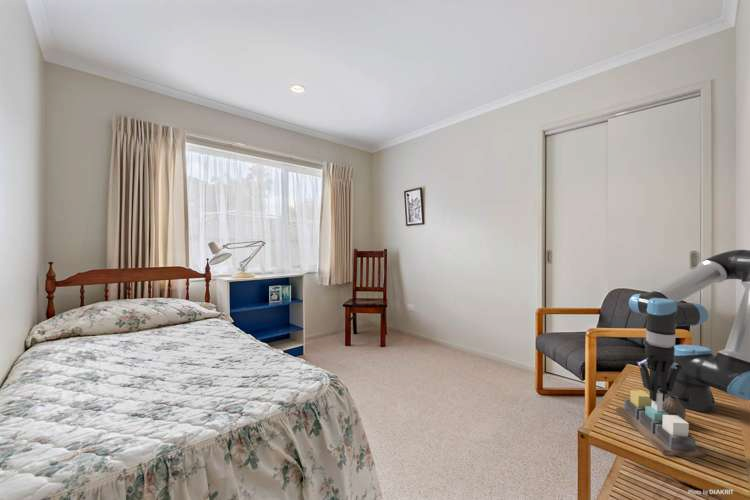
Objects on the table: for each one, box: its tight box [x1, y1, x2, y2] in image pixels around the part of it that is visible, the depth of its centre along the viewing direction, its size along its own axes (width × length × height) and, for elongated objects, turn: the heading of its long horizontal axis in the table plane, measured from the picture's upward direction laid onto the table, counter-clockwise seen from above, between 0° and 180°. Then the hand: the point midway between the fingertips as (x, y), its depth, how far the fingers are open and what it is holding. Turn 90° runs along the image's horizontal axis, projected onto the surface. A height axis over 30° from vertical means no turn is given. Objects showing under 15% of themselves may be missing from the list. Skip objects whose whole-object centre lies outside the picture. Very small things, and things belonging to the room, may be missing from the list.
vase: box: [662, 396, 687, 420], centre depth 118 cm, size 7×7×9 cm
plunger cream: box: [662, 415, 690, 437], centre depth 104 cm, size 4×4×5 cm
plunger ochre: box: [629, 389, 652, 408], centre depth 119 cm, size 4×4×5 cm
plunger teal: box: [645, 406, 669, 421], centre depth 112 cm, size 4×4×5 cm
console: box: [615, 398, 707, 458], centre depth 112 cm, size 12×24×6 cm, turn 173°
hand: (656, 409), depth 111 cm, fingers closed
